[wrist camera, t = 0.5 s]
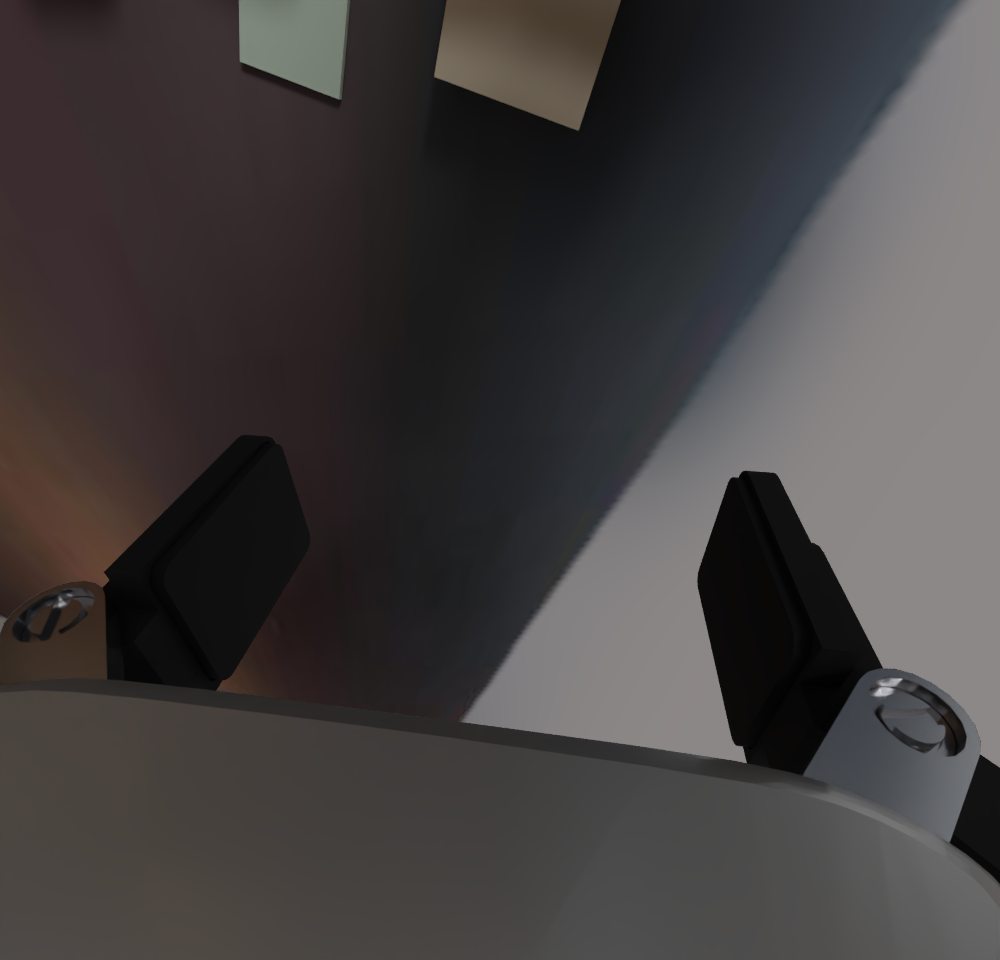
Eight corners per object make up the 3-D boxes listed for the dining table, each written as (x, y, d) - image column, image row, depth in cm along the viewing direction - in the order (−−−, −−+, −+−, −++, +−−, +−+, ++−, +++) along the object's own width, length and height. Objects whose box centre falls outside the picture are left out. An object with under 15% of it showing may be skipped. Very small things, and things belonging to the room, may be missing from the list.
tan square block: (487, -124, 25) (472, -155, 22) (640, -62, 25) (647, -83, 22) (450, 77, 30) (434, 76, 27) (579, 126, 30) (578, 130, 27)
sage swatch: (241, -81, 27) (237, -83, 26) (353, -36, 27) (350, -37, 27) (243, 61, 30) (239, 61, 30) (341, 99, 31) (339, 99, 30)
